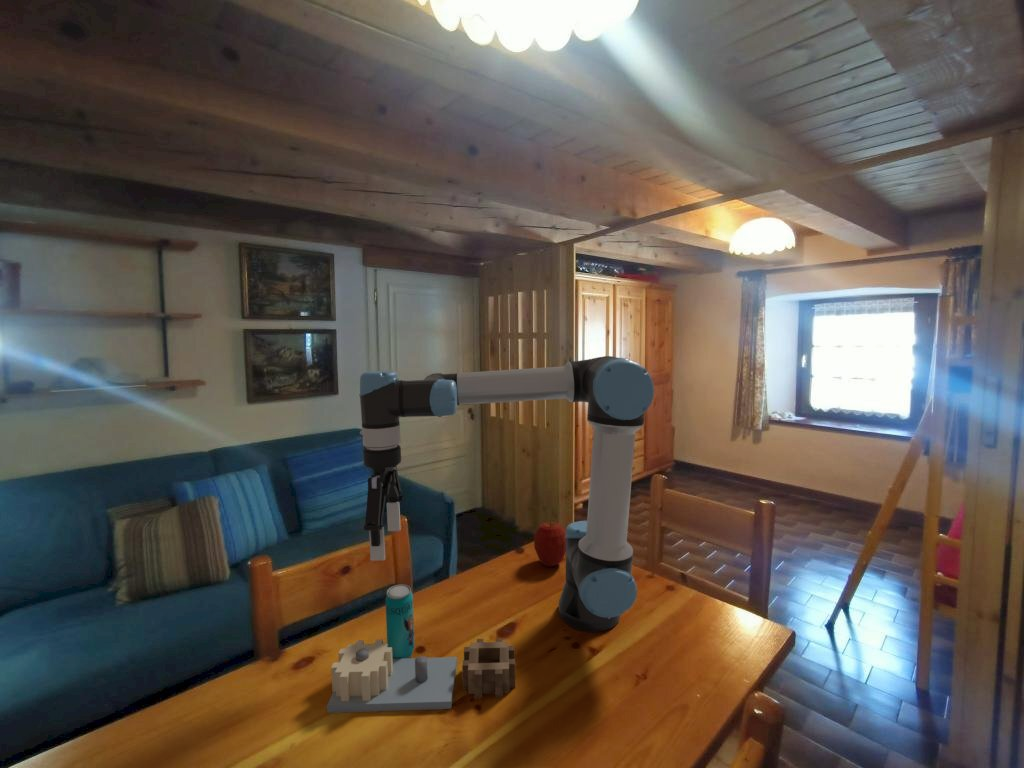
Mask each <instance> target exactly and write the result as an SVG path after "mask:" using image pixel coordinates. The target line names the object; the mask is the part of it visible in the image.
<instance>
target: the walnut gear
mask: <svg viewBox="0 0 1024 768" xmlns="http://www.w3.org/2000/svg"><path fill="white" fill-rule="evenodd" d="M469 644H470V645H469V646H464V647H463V648H464V649H463V660H462V663H461V665H462V673H461V675H462V689H463V690H468V691H467V692H468V695H474V699H483V694H495V699H497V698H498V699H499V698H502V699H503V698H504V693H505V694H506V693H508V694H509V693H510V688H516V659H515V645H509V641H503V638H502V637H499V638H498V637H497V638H495V641H487V642H485V641H484V638H477V639H476V642H470V643H469Z"/></svg>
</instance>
